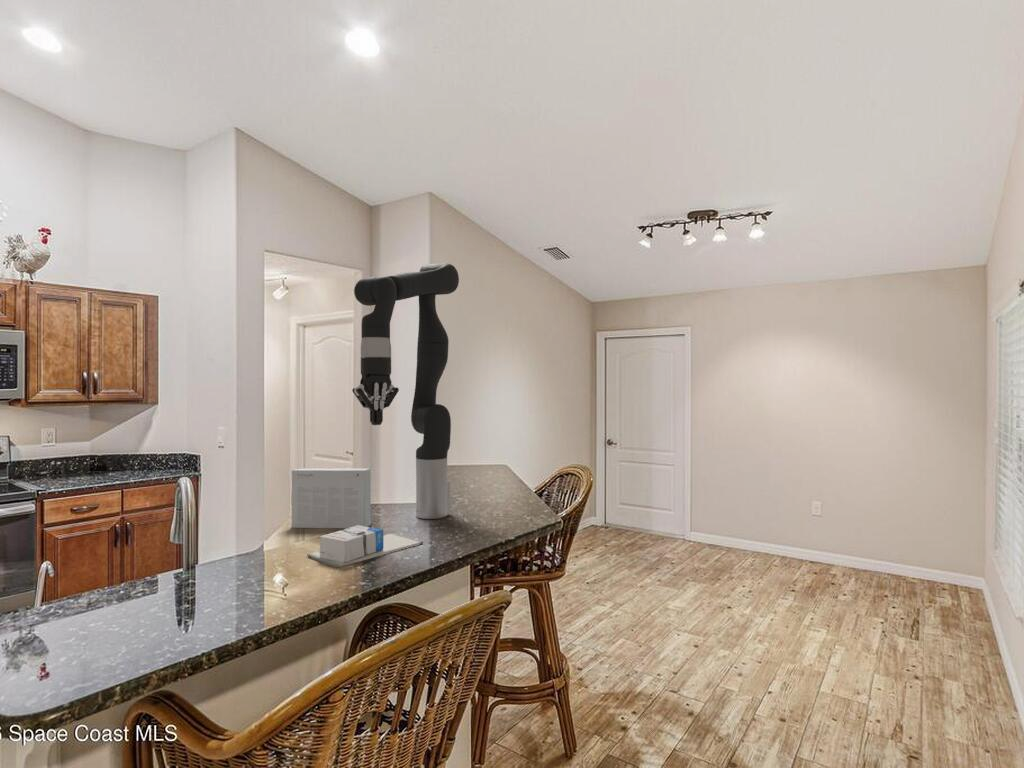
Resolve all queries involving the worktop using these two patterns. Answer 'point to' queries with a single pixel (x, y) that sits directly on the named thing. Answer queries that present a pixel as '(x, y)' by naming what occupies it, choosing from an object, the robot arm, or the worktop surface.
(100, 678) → the worktop surface
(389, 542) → the mat
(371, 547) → the ink box
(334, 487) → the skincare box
